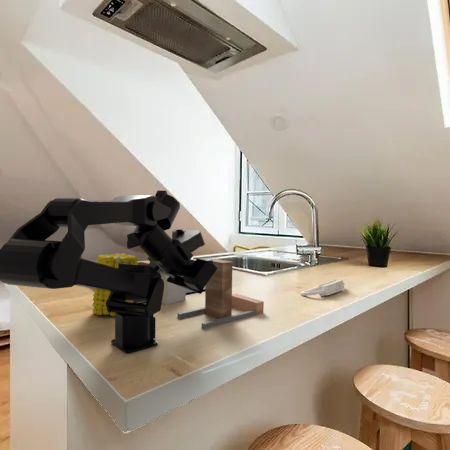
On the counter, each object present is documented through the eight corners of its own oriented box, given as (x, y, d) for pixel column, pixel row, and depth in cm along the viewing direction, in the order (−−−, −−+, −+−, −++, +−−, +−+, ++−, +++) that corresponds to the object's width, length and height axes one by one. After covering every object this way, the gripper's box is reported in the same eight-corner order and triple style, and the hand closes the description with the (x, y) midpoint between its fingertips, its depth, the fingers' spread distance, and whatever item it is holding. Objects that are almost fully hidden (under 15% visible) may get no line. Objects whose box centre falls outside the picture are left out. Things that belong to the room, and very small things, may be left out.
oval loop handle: (327, 290, 121) (325, 279, 122) (350, 288, 116) (348, 276, 117) (296, 301, 107) (294, 288, 107) (321, 299, 101) (318, 286, 102)
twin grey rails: (204, 329, 76) (204, 315, 75) (177, 318, 83) (177, 305, 83) (263, 313, 88) (263, 301, 88) (235, 304, 95) (235, 293, 95)
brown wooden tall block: (221, 320, 81) (222, 263, 81) (205, 314, 86) (205, 259, 85) (231, 317, 83) (232, 261, 83) (214, 311, 88) (215, 258, 87)
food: (86, 319, 86) (126, 313, 93) (106, 319, 78) (148, 313, 84) (84, 255, 89) (122, 254, 95) (103, 249, 80) (144, 248, 86)
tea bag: (185, 300, 99) (185, 264, 98) (167, 305, 94) (167, 267, 93) (176, 298, 101) (176, 262, 101) (157, 302, 96) (157, 265, 95)
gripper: (210, 219, 70) (249, 270, 78) (158, 216, 83) (196, 259, 91) (176, 263, 65) (221, 313, 73) (127, 252, 79) (169, 294, 87)
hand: (201, 291), depth 81 cm, fingers closed
